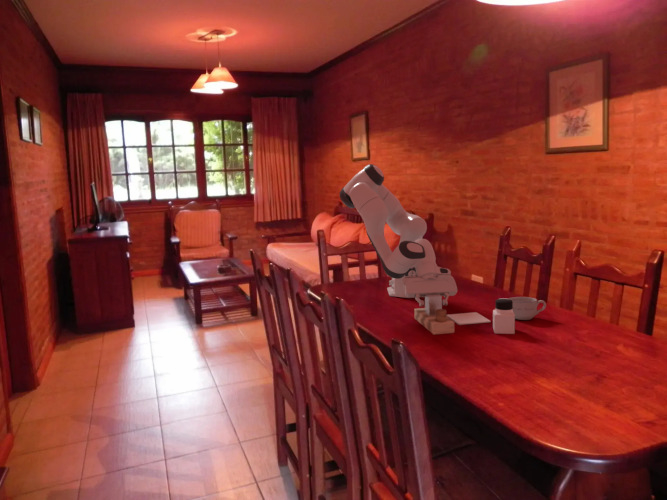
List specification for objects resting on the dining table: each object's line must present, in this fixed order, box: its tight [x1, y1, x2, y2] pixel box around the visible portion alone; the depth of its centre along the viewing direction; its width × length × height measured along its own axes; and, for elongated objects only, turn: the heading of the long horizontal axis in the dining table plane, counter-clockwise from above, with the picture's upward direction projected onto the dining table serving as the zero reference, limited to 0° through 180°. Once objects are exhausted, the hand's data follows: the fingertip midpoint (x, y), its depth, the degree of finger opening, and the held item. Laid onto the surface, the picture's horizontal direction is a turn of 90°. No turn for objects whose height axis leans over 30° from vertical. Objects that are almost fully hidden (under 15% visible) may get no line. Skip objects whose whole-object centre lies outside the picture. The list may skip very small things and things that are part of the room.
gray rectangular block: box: [424, 293, 443, 317], centre depth 206 cm, size 5×5×8 cm
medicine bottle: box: [492, 297, 516, 335], centre depth 196 cm, size 7×7×12 cm
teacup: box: [508, 296, 547, 321], centre depth 211 cm, size 14×11×8 cm
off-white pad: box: [446, 311, 491, 326], centre depth 214 cm, size 13×13×1 cm
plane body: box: [413, 307, 455, 335], centre depth 207 cm, size 22×8×8 cm, turn 10°
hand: (433, 305), depth 205 cm, fingers open, 8 cm apart
